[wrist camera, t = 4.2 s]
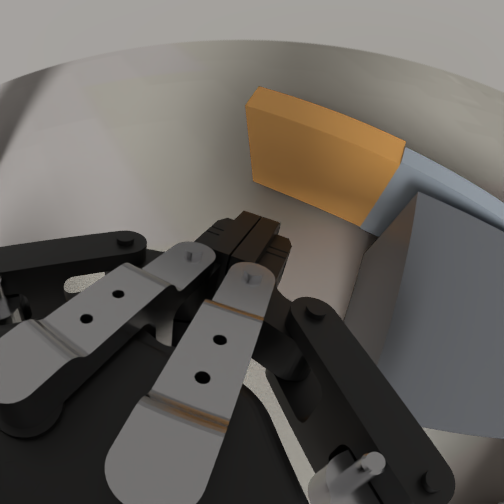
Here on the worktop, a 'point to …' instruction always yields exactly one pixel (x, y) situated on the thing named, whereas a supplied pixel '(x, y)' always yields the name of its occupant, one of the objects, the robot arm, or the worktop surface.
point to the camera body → (436, 316)
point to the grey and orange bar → (349, 165)
